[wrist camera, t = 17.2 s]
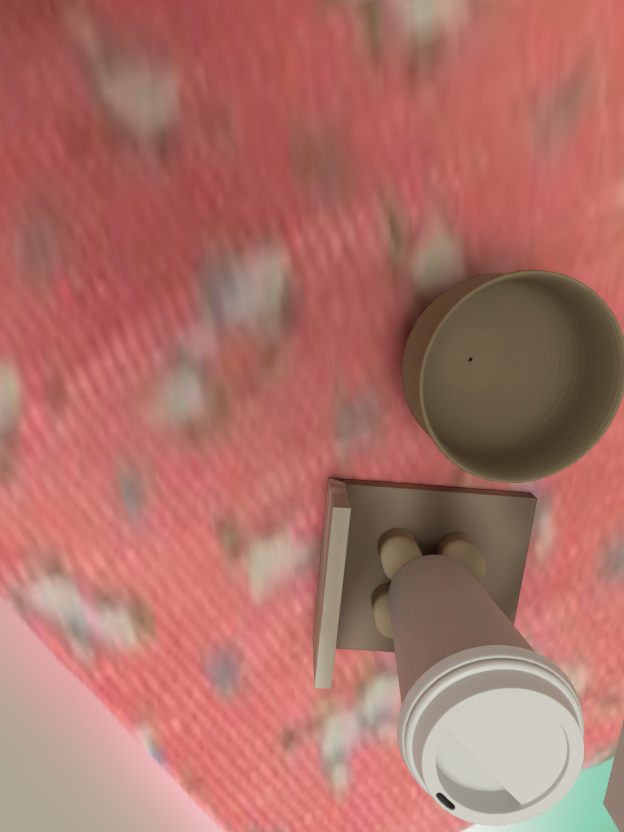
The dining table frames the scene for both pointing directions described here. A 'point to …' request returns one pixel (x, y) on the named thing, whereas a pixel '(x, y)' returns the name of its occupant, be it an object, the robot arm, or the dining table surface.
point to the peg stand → (408, 554)
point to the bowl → (515, 373)
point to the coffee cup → (478, 700)
